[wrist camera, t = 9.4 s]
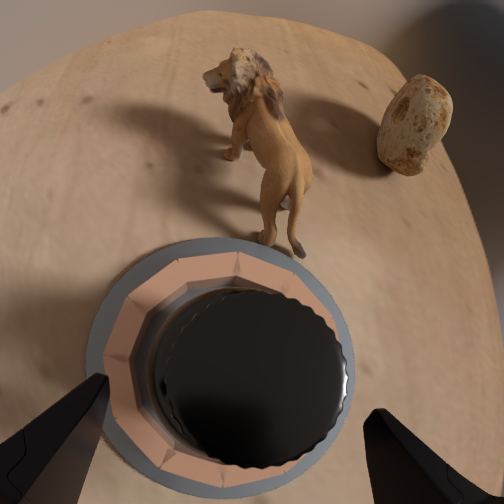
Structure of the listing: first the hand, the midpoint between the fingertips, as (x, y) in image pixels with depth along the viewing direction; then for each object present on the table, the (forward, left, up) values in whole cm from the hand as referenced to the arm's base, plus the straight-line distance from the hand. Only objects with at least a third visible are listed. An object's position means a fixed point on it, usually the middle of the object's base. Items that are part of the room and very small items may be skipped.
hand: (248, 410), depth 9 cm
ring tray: (+1, 0, -10) cm, 10 cm away
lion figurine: (+16, +3, -10) cm, 19 cm away
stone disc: (+26, -9, -10) cm, 30 cm away
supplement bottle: (+1, 0, -10) cm, 10 cm away
